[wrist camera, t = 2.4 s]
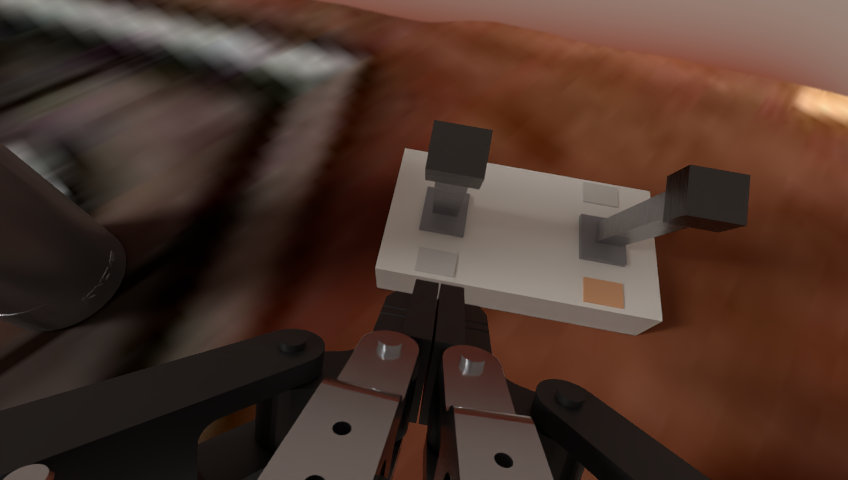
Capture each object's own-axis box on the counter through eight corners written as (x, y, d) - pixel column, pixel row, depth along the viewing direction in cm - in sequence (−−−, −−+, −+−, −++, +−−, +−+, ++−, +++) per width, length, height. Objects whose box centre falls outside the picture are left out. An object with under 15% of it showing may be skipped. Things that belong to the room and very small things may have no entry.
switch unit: (377, 287, 36) (374, 265, 32) (404, 175, 42) (405, 144, 38) (635, 335, 35) (666, 319, 31) (627, 214, 41) (652, 188, 37)
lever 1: (424, 217, 34) (425, 168, 21) (430, 186, 34) (434, 120, 22) (462, 224, 33) (484, 179, 21) (467, 192, 34) (492, 130, 21)
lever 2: (587, 247, 33) (685, 214, 21) (592, 215, 34) (690, 164, 21) (626, 253, 33) (746, 225, 21) (629, 221, 33) (750, 175, 21)
